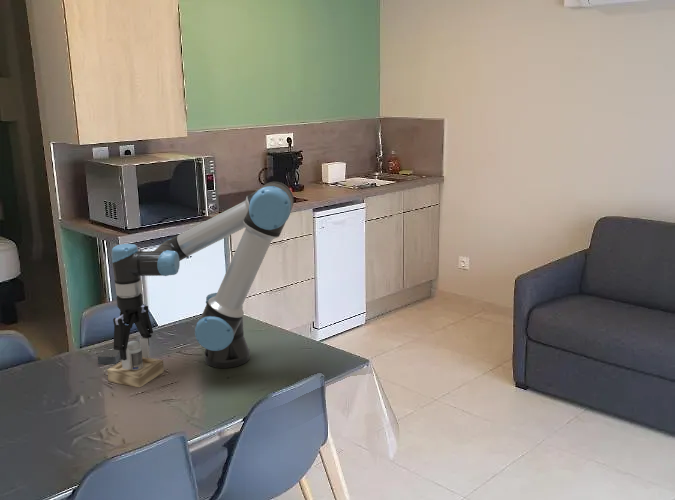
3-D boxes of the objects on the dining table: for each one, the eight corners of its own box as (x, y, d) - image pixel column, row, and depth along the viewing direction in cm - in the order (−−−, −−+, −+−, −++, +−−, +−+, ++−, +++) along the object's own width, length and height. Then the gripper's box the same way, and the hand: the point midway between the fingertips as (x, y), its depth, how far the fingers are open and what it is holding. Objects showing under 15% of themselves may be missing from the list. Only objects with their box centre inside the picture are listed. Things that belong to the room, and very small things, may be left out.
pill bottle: (145, 364, 206) (143, 340, 204) (139, 371, 201) (137, 346, 199) (131, 364, 206) (129, 339, 204) (125, 370, 202) (122, 345, 200)
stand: (163, 371, 208) (163, 360, 207) (139, 387, 197) (138, 375, 196) (133, 366, 212) (132, 355, 211) (108, 381, 201) (107, 369, 200)
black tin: (122, 357, 220) (121, 349, 219) (116, 365, 214) (115, 356, 213) (105, 357, 220) (104, 349, 219) (98, 365, 214) (97, 356, 213)
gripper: (141, 283, 209) (148, 348, 214) (94, 303, 189) (103, 374, 195) (160, 285, 206) (166, 351, 211) (115, 306, 187) (123, 378, 192)
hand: (136, 362), depth 203 cm, fingers open, 8 cm apart
